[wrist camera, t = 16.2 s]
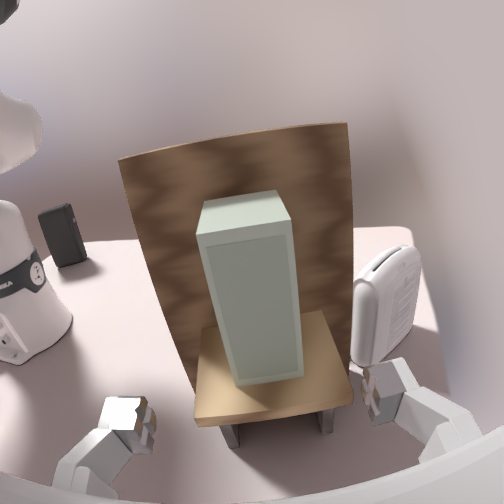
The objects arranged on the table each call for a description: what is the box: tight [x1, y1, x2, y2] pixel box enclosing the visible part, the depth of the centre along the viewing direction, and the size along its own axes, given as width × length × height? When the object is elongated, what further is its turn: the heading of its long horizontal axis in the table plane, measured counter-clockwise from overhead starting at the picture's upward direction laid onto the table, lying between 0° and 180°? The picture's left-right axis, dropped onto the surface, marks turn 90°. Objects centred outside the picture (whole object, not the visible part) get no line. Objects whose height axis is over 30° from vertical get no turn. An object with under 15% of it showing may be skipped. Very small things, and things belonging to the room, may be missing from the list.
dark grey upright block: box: [38, 203, 87, 267], centre depth 71 cm, size 9×4×15 cm, turn 103°
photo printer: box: [350, 245, 422, 367], centre depth 34 cm, size 10×4×12 cm, turn 126°
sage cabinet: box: [196, 190, 304, 387], centre depth 22 cm, size 5×6×12 cm
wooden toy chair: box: [118, 122, 354, 448], centre depth 23 cm, size 17×11×26 cm, turn 94°
